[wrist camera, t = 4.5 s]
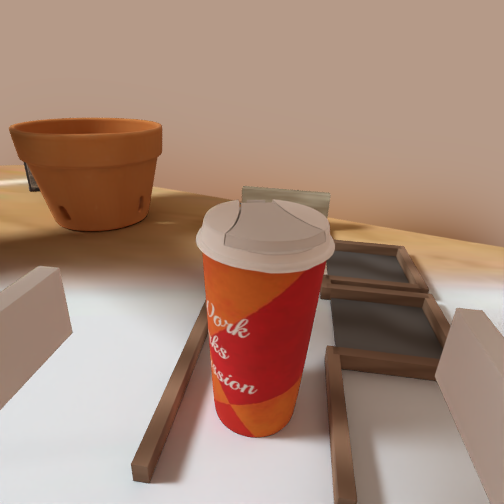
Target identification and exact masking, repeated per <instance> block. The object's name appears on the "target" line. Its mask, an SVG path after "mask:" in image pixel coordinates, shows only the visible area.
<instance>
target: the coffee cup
mask: <svg viewBox="0 0 504 504" xmlns="http://www.w3.org/2000/svg"><path fill="white" fill-rule="evenodd" d="M246 202H247V203H240V204H241V207H239V201H238V200H233V201H228V202H224V203H221V204H218V205H216V206H214V207H212V208H210V209H209V210H208V211H207V212H206V214H205V216H204V219H203V225H202V227H201V228H200V229H199V231H198V233H197V235H196V243H197V246H198V248H199V249H200V250H201V251H202V253H203V266H204V279H205V292H206V306H207V319H208V332H209V345H210V357H211V370H212V381H213V392H214V401H215V407H216V411H217V414H218V417H219V418H220V420H221V421H222V423H223V424H224V425H225V426H226V427H227V428H229V429H230V430H232V431H233V432H235V433H237V434H240V435H243V436H247V437H265V436H269V435H272V434H275V433H277V432H278V431H280V430H281V429H283V428H284V427H285V426H286V425H287V424H288V422H289V421H290V419H291V417H292V414H293V411H294V407H295V404H296V400H297V395H298V391H299V387H300V382H301V378H302V373H303V369H304V364H305V359H306V355H307V350H308V345H309V341H310V336H311V331H312V326H313V322H314V317H315V312H316V308H317V303H318V298H319V293H320V289H321V284H322V279H323V274H324V270H325V265H326V260H328V259H329V258H330V257H331V256H332V255H333V253H334V250H335V243H334V241H333V238H332V236H331V235H330V225H329V222H328V220H327V218H326V217H325V216H324V215H323V214H322V213H320V212H319V211H317V210H315V209H313V208H311V207H308V206H305V205H302V204H298V203H294V202H289V201H283V200H275V199H273V200H272V202H265V200H247V201H246Z"/></svg>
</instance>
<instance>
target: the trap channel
mask: <svg viewBox="0 0 504 504" xmlns="http://www.w3.org/2000/svg"><path fill="white" fill-rule="evenodd" d="M273 199H275V200H283V201H289V202H294V203H298V204H302V205H305V206H308V207H311V208H313V209H315V210H317V211H319V212H320V213H322V214H323V215H324V216H325V217H326V218H327V216H328V209H329V202H330V193H324V192H311V191H299V190H287V189H275V188H262V187H249V186H243V188H242V203H247V202H246V201H247V200H265V202H272V200H273ZM333 241H334V243H335V250H334V253H333V255H332V256H331V257H330V258H329V259H328V260H326V263H327V272H328V275H323V279H322V284H321V289H320V296H321V299H329V300H331V308H332V317H333V326H334V336H335V345H336V347H335V346H327V348H326V354H325V371H326V387H327V402H328V417H329V432H330V447H331V462H332V477H333V493H334V504H356V503H357V495H356V487H355V479H354V470H353V462H352V454H351V446H350V437H349V429H348V421H347V412H346V404H345V396H344V388H343V379H342V371H341V369H347V370H354V371H362V372H370V373H378V374H386V375H394V376H402V377H410V378H418V379H426V380H433V381H436V378H435V373H436V370H437V367H438V364H439V361H440V358H441V355H442V351H443V348H444V345H445V342H446V339H447V336H448V333H449V330H450V327H451V326H450V325H449V323H448V321H447V319H446V318H445V316H444V314H443V313H442V311H441V309H440V307H439V306H438V304H437V302H436V301H435V299H434V297H433V295H432V294H428V291H429V289H428V287H427V285H426V283H425V282H424V280H423V278H422V277H421V275H420V273H419V271H418V270H417V268H416V266H415V265H414V263H413V261H412V259H411V258H410V256H409V254H408V253H407V251H406V249H405V247H404V246H396V245H385V244H374V243H363V242H352V241H342V240H333ZM207 333H208V319H207V306H206V300H205V303H204V305H203V307H202V309H201V311H200V314H199V316H198V318H197V320H196V322H195V325H194V327H193V329H192V331H191V333H190V336H189V338H188V340H187V342H186V344H185V347H184V349H183V351H182V353H181V355H180V358H179V360H178V362H177V364H176V366H175V369H174V371H173V373H172V375H171V377H170V380H169V382H168V384H167V386H166V388H165V391H164V393H163V395H162V397H161V399H160V402H159V404H158V406H157V408H156V410H155V413H154V415H153V417H152V419H151V421H150V424H149V426H148V428H147V430H146V432H145V435H144V437H143V439H142V441H141V443H140V446H139V448H138V450H137V452H136V454H135V457H134V459H133V461H132V463H131V468H132V475H133V481H139V482H145V483H150V480H151V478H152V475H153V473H154V470H155V467H156V465H157V462H158V460H159V457H160V454H161V452H162V449H163V447H164V444H165V442H166V439H167V436H168V434H169V431H170V429H171V426H172V424H173V421H174V418H175V416H176V413H177V411H178V408H179V405H180V403H181V400H182V398H183V395H184V393H185V390H186V387H187V385H188V382H189V380H190V377H191V375H192V372H193V369H194V367H195V364H196V362H197V359H198V356H199V354H200V351H201V349H202V346H203V344H204V341H205V338H206V336H207Z"/></svg>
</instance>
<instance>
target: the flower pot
mask: <svg viewBox="0 0 504 504" xmlns="http://www.w3.org/2000/svg"><path fill="white" fill-rule="evenodd" d="M9 131H10V134H11V137H12V140H13V143H14V146H15V148H16V151H17V154H18V157H19V158H20V160H22V161H23V162H25V163H27V165H28V167H29V169H30V171H31V173H32V175H33V177H34V179H35V181H36V183H37V185H38V187H39V189H40V191H41V193H42V195H43V197H44V199H45V201H46V203H47V205H48V207H49V209H50V211H51V213H52V215H53V217H54V219H55V221H56V222H57V223H58V224H59V225H60V226H62V227H64V228H67V229H71V230H78V231H105V230H112V229H118V228H123V227H126V226H129V225H132V224H135V223H137V222H139V221H141V220H143V219H144V218H145V217H146V216H147V214H148V211H149V205H150V199H151V193H152V187H153V181H154V175H155V169H156V162H157V157H158V156H159V155H161V153H162V125H161V124H159V123H156V122H152V121H146V120H138V119H124V118H62V119H47V120H37V121H29V122H23V123H18V124H14V125H11V126H10V127H9Z"/></svg>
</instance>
